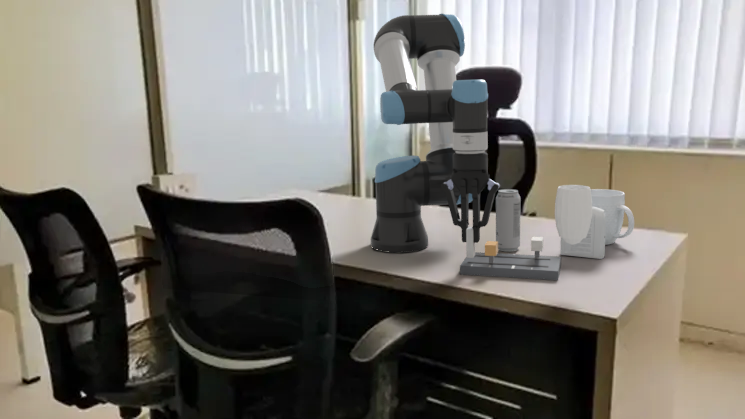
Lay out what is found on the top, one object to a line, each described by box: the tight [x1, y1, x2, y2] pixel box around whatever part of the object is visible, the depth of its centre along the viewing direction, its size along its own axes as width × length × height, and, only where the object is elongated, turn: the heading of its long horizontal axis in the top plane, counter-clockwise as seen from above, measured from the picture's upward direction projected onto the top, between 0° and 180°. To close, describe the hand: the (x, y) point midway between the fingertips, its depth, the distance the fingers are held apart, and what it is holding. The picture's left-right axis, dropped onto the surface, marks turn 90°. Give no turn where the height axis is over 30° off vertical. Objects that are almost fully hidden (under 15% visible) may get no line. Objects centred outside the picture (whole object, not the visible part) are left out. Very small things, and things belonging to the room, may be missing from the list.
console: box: [459, 251, 562, 281], centre depth 147 cm, size 21×12×2 cm, turn 71°
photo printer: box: [559, 206, 606, 260], centre depth 155 cm, size 10×4×12 cm, turn 61°
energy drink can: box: [495, 188, 521, 253], centre depth 164 cm, size 6×6×15 cm
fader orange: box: [484, 240, 499, 263], centre depth 145 cm, size 2×4×4 cm, turn 162°
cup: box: [554, 184, 592, 245], centre depth 132 cm, size 7×7×21 cm
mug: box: [590, 188, 635, 246], centre depth 166 cm, size 15×11×13 cm
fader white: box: [530, 236, 544, 258], centre depth 147 cm, size 2×4×4 cm, turn 162°
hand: (470, 256), depth 146 cm, fingers closed
